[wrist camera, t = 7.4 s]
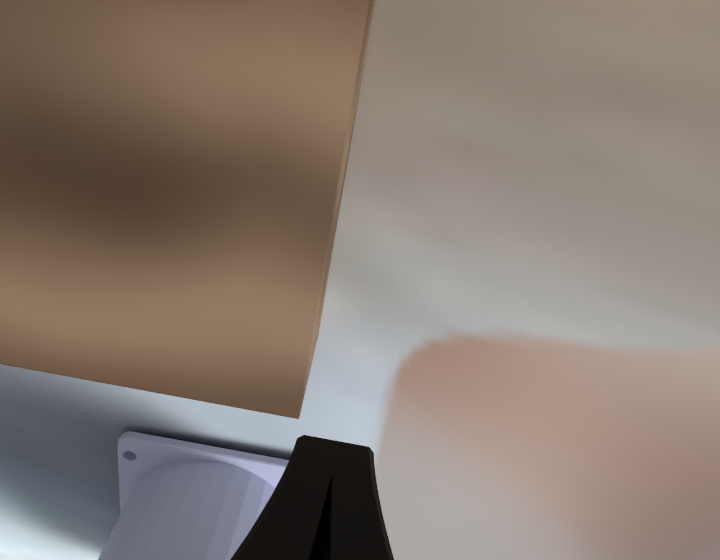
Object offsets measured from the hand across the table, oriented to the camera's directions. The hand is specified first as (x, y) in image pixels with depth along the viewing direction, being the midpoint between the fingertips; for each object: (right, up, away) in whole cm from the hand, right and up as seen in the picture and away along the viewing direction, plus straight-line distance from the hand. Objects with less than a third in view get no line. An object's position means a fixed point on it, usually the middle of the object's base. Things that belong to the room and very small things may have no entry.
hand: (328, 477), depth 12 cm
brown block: (-6, +8, +7) cm, 12 cm away
